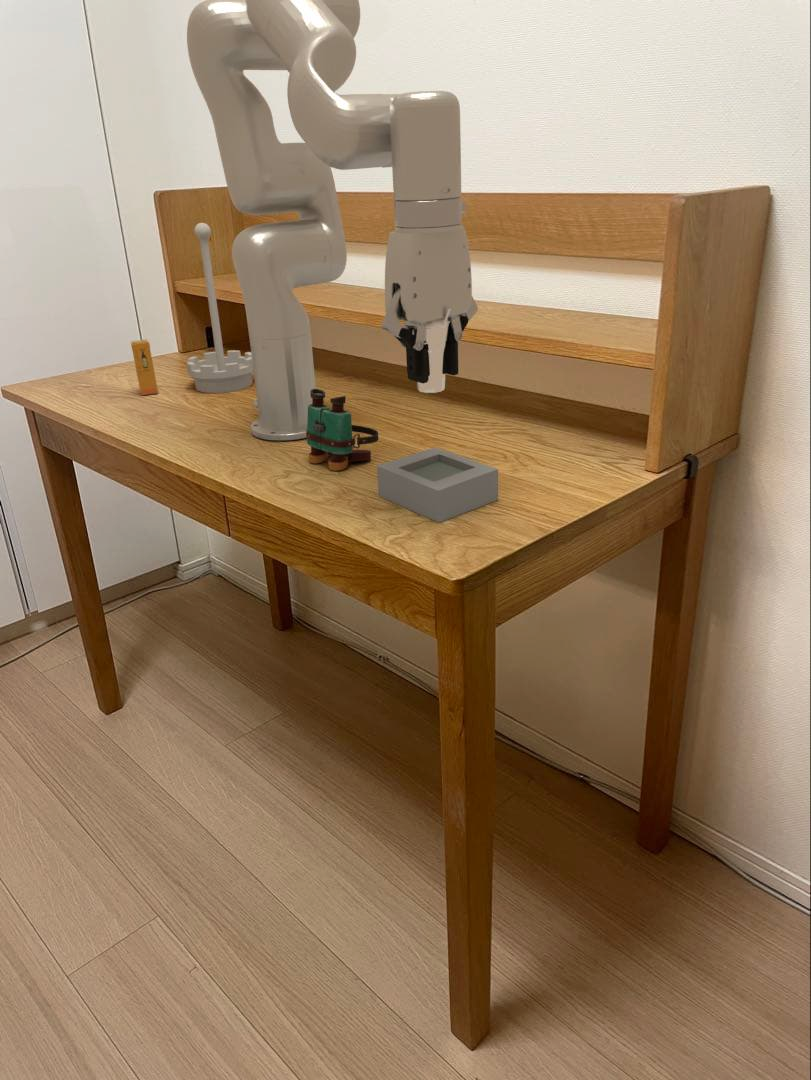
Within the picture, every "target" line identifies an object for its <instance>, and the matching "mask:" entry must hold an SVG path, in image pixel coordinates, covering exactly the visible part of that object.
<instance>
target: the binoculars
mask: <svg viewBox="0 0 811 1080" xmlns="http://www.w3.org/2000/svg"><path fill="white" fill-rule="evenodd" d="M310 393H311V398H312V404H310V405H308V419H307V431H306V437H307V438H306V443H307V445H308V446H309V447H310V452H309V453H308V462H309V463H310V464H320V463H323V462H325V461H326V460H327V459H328V458H329V456H330V457H331V458H330V459H328V469H329V470H330V471H334V472H335V471H342V470H344V469H346V468H347V467H348V464H349V463H350V462H359V461H360V462H361V461H362V462H365V461H370V460H371V459H372V451H371V450H370V449H369V450H368V449H360V446H362V445H367V444H374V443H377V442H378V441H379V431H378V430H376V429H375V428H371V427H367V426H363V425H355V424H352V413H351V411H349V410H344V409H345V408H344V407H345V406H344V405H345V403H346V397H347V396H346V395H344V396H342V395H341V396H338V397H337V396H336V397H332V398H330V399H329V400H330V401H329V402H330V403H331V408H330V406H328V405H326V404H324V399H325V398H326V392H325V391H324V390H322V389H319V388H316V389H312V390H311V391H310ZM353 433H356V434H355V435H353ZM360 434H364V435H369V436H361V435H360ZM356 437H357V438H356ZM355 445H357V446H355ZM353 448H354V449H353Z"/></svg>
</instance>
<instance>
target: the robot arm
mask: <svg viewBox="0 0 811 1080" xmlns="http://www.w3.org/2000/svg"><path fill="white" fill-rule="evenodd" d="M360 21H361V5H360V1H359V0H203V2H200V3H198V4H197V5H195V6H194V7H193V10H192V11H191V12H190V15H189V17H188V21H187V25H186V26H187V27H186V45H187V52H188V59H189V62H190V67H191V70H192V73H193V76H194V79H195V81H196V84H197V86H198V88H199V90H200V92H201V94H202V96H203V99H204V101H205V103H206V106H207V108H208V111H209V113H210V116H211V119H212V122H213V127H214V132H215V137H216V142H217V146H218V151H219V155H220V160H221V164H222V165H221V166H222V169H223V174H224V177H225V178H224V179H225V182H226V186H227V189H228V195H229V196H230V197H229V198H230V200H231V202H232V205H234V207H235V208H236V210H237V211H238V212H240V213H242V214H245V215H251V216H262V215H274V214H275V215H276V214H284V213H294V212H295V213H296V212H297V215H298V216H299V220H293V221H288V220H287V221H286V220H285V221H277V222H269V223H260V224H255V225H253V226H250V227H246V228H245V229H243V230H242V231H240V232H239V233H238V234H237V235H236V237H235V239H234V241H233V243H232V250H231V256H232V261H233V266H234V270H235V272H236V273H235V274H236V277H237V280H238V283H239V286H240V290H241V294H242V298H243V303H244V309H245V314H246V322H247V323H246V324H247V329H248V336H249V345H250V352H251V354H252V362H253V370H254V371H253V377H254V385H255V392H256V393H255V394H256V400H254V402H253V408H255V409H257V410H258V416H259V417H258V418H257V419H255V420H254V421H253V422H252V423H251V425H250V430H251V433H252V435H254V437H257V438H259V439H262V440H266V441H276V442H277V441H294V440H301V439H307V437H306V431H307V419H308V405H310V404H312V398H311V393H310V391H311V390H312V389H317V387H316V377H315V367H314V354H313V343H312V333H311V326H310V325H311V322H310V318H309V315H308V313H307V309H305V307H304V306H303V304H302V303H301V302H300V301H299V300H298V298H297V297H296V296H295V294H294V292H293V289H297V288H300V287H307V286H315V285H319V284H320V285H321V284H325V283H331V282H333V281H336V280H338V279H339V278H340V277H341V276H342V275H343V273H344V272H345V269H346V266H347V258H348V257H347V255H348V254H347V244H346V237H345V232H344V227H343V226H344V225H343V221H342V216H341V211H340V210H341V209H340V206H339V200H338V194H337V189H336V183H335V179H334V178H335V177H334V174H333V171H332V168H333V169H336V170H342V171H345V170H346V171H347V170H360V169H362V170H363V169H371V168H391V169H392V184H393V185H392V190H393V206H394V207H393V209H394V210H393V211H394V228H395V229H394V231H390V232H389V234H388V239H387V245H386V253H385V263H384V265H385V267H384V307H385V314H384V317H383V320H382V322H381V326H380V327H381V328H382V330H384V331H385V332H387V333H388V334H390V335H393V337H394V338H395V339H396V340H397V341H399V342H400V345H401V346H402V347H403V348H405V357H406V373H407V379H408V380H409V381H413V382H416V383H417V382H419V383H427V382H428V380H429V377H428V352H427V349H423V344H424V335H425V327H426V322H431V321H435V320H440V319H445V317H446V314H447V311H448V309H450V308H451V310H450V313H449V316H448V319H447V320H448V321H449V327H448V339H447V355H446V373H445V375H449V376H456V375H459V342H461V341H462V339H463V333H464V330H465V329H466V327H467V326H468V323H469V321H470V320H471V319H472V318H473V317H474V316H475V314H477V312H478V310H479V307H478V305H477V302H476V301H475V299H474V297H473V296H472V295H473V284H472V282H473V280H472V265H471V255H470V250H469V248H470V247H469V242H468V236H467V232H466V227H465V226H462V225H463V223H462V222H463V218H462V217H463V215H464V214H465V213H466V211H467V206H466V205H467V204H466V203H465V202H464V201H462V153H461V152H462V151H461V149H462V148H461V141H462V140H461V138H462V137H461V107H460V102H459V99H458V97H457V96H456V95H455V94H454V93H452V92H450V91H447V90H446V91H445V90H426V91H423V90H422V91H409V92H404V93H403V92H402V93H392V94H391V93H387V94H384V93H361V94H360V93H356V94H355V93H354V94H352V93H351V94H339V93H337V91H338V90H339V89H340V88H341V87H342V86H343V85H344V84H346V82H347V80H348V79H349V77H350V76H351V74H352V72H353V69H354V68H355V63H356V59H357V46H356V42H355V37H356V36H357V33H358V30H359V27H360V23H361V22H360ZM244 71H287V72H288V73H289V76H288V78H287V79H288V80H287V90H286V91H287V92H286V93H287V103H288V109H289V114H290V119H291V121H292V124H293V127H294V128H295V131H296V132H297V134H298V136H300V138H301V140H302V141H303V142H283V143H282V142H281V141H280V140H279V139H278V136H277V134H276V133H277V132H276V130H275V125H274V120H273V119H274V117H273V115H272V114H273V113H272V111H271V108H270V106H269V103H268V102H267V100H266V99H265V97H264V96H263V95H262V92H260V90H259V89H258V87H256V85H255V84H254V83H253V82H252V81H251V80H250V79H248V77H246V75H245V74H244ZM462 214H463V215H462ZM400 320H402V324H401V323H400ZM413 327H415V329H414V335H413V334H412V332H413Z"/></svg>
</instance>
